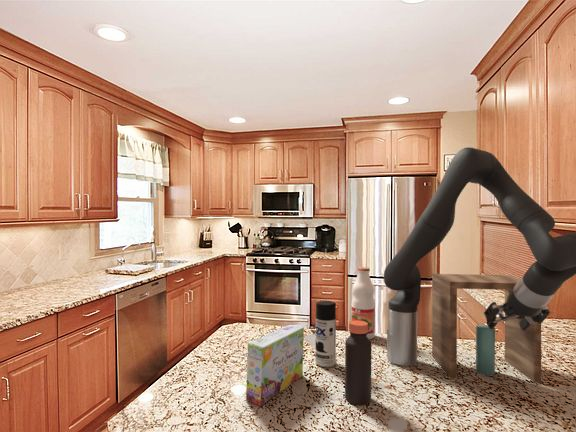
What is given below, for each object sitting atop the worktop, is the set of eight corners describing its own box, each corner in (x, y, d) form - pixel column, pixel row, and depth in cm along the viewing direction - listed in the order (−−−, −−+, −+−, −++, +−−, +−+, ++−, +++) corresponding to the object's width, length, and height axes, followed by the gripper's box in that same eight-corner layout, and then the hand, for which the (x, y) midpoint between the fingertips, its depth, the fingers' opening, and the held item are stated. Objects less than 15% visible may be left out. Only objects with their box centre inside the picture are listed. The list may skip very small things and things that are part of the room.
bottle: (354, 407, 87) (355, 328, 87) (340, 395, 93) (340, 320, 93) (376, 402, 90) (377, 325, 90) (361, 390, 96) (361, 318, 96)
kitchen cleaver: (295, 327, 150) (317, 325, 152) (295, 330, 150) (317, 327, 152) (309, 348, 126) (335, 345, 128) (309, 351, 126) (335, 348, 128)
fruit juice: (379, 336, 141) (379, 267, 142) (366, 341, 135) (366, 270, 135) (360, 331, 148) (360, 265, 149) (346, 335, 142) (347, 267, 142)
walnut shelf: (449, 378, 104) (450, 281, 104) (432, 357, 120) (432, 273, 120) (541, 382, 102) (541, 283, 102) (510, 360, 118) (510, 275, 118)
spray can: (311, 363, 114) (311, 302, 114) (323, 357, 119) (324, 299, 119) (327, 369, 109) (328, 306, 109) (339, 363, 114) (340, 302, 114)
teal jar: (480, 375, 106) (480, 329, 107) (472, 367, 112) (473, 324, 112) (498, 375, 106) (498, 330, 106) (489, 368, 111) (489, 325, 111)
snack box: (262, 407, 87) (263, 347, 87) (245, 401, 90) (245, 343, 90) (304, 376, 105) (304, 326, 105) (288, 371, 108) (288, 323, 108)
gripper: (553, 282, 88) (526, 315, 100) (495, 281, 89) (475, 313, 101) (568, 308, 83) (538, 340, 94) (506, 306, 84) (483, 338, 95)
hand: (505, 326), depth 97 cm, fingers open, 8 cm apart
